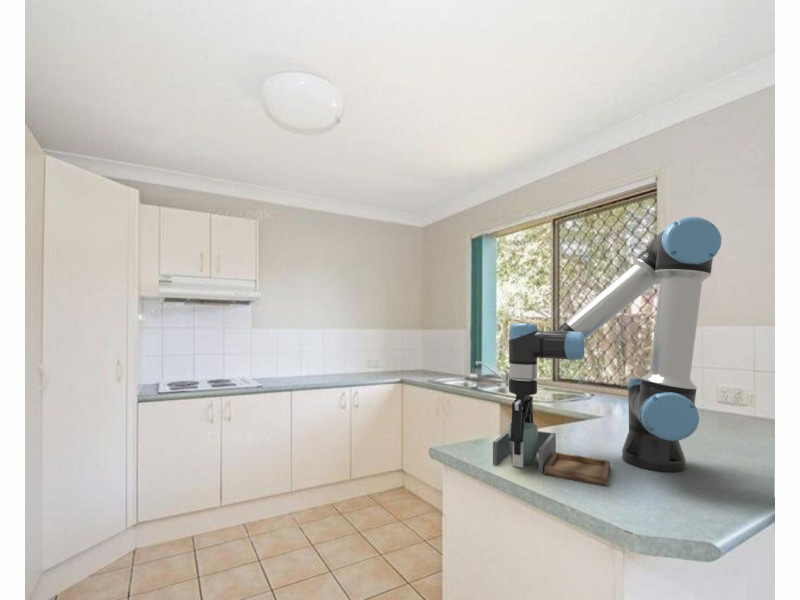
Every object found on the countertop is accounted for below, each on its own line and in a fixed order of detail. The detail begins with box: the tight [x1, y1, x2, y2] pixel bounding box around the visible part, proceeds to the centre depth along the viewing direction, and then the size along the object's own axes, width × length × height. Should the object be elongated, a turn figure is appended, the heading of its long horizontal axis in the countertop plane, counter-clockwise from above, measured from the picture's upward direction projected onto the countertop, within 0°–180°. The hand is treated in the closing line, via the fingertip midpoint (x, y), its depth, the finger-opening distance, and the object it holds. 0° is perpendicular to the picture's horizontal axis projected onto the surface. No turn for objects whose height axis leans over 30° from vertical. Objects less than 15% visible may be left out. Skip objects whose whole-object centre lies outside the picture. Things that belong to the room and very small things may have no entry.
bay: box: [492, 428, 557, 475], centre depth 118 cm, size 13×18×6 cm
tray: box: [543, 452, 611, 487], centre depth 108 cm, size 14×14×2 cm
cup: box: [508, 422, 539, 465], centre depth 115 cm, size 8×8×10 cm
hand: (522, 461), depth 115 cm, fingers open, 9 cm apart
